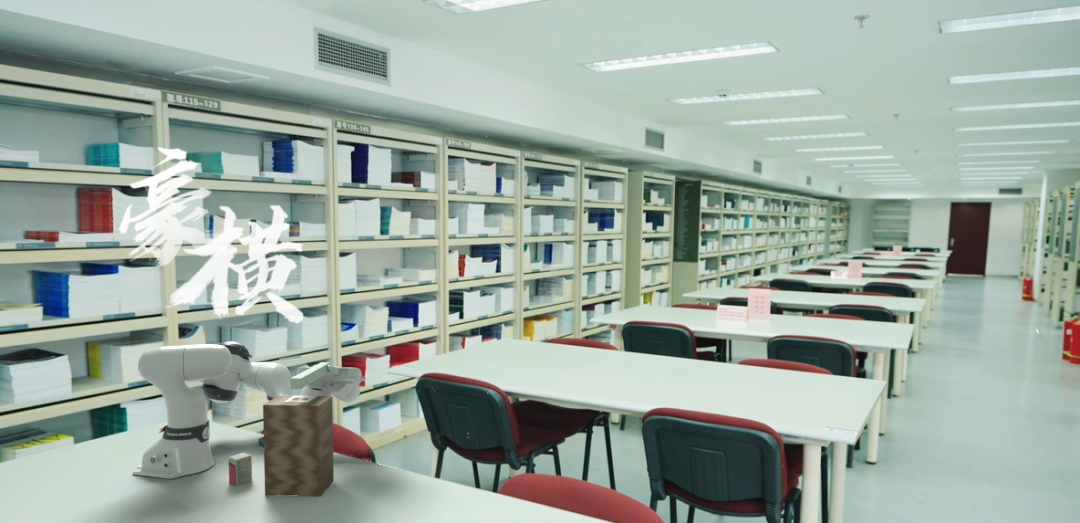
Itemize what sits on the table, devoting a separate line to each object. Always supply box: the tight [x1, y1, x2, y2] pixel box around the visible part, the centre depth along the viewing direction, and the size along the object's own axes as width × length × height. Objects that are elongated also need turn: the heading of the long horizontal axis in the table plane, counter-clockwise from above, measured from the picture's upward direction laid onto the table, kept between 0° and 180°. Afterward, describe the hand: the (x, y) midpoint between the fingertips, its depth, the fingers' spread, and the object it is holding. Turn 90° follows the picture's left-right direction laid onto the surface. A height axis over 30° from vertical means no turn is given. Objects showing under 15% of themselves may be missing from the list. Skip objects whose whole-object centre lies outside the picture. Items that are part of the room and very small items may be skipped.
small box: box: [227, 452, 253, 487], centre depth 189 cm, size 5×4×8 cm
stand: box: [262, 395, 335, 497], centre depth 183 cm, size 16×10×26 cm, turn 87°
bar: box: [290, 361, 331, 390], centre depth 191 cm, size 3×22×3 cm, turn 177°
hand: (321, 367), depth 199 cm, fingers closed on bar, 3 cm apart
